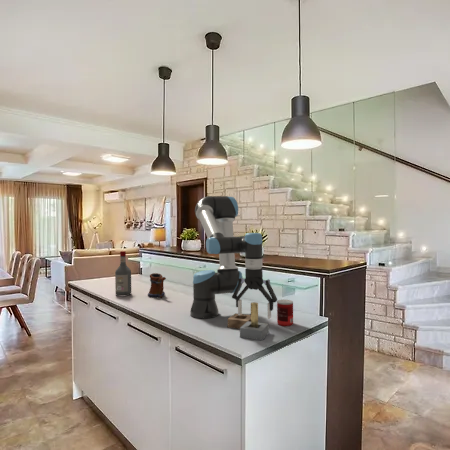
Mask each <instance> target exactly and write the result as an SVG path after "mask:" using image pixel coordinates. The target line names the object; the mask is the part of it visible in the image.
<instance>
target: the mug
mask: <svg viewBox="0 0 450 450" xmlns="http://www.w3.org/2000/svg"><path fill="white" fill-rule="evenodd" d="M149 278H150V279H149V281H150V287H149V288H150V289H149V291H148V292H147V297H148V298H151V297H152V299H155V298H156V299H157V297H158V298H161V299H163V297H165V295H166V293H165V291H164V281H165V280H166V279H167V278H166V277H165V276H163V275H162V274H161V273H156V272H155V273H154V272H153V273H151V274H149Z"/></svg>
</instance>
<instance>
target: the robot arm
mask: <svg viewBox="0 0 450 450" xmlns="http://www.w3.org/2000/svg"><path fill="white" fill-rule="evenodd" d="M194 213H195V217H196V219H198V220H199V221H200V223H201V226H202V228H203V230H204V233H205V234H206V237H207V238H206V241H205V248H206V252H207V253H208V254H210V255H211V254H212V255H218V256H219V257H218V258H219V259H218V260H219V266H218V268H217V269H216V270H217V271H215V270H214V269H206V270H201V271H200V270H199V271H198V272H194V274H193V276H192V277H193V279H192V286H193V290H192V291H193V293H192V296H193V301H192V305H191V307H190V316H191V317H192V318H196V319H211V318H215V317H217V316H219V308H218V304H217V302H216V295H221V294H222V295H223V294H232V296H231V299H233V300H235V307H236V308H237V314H238V315H241V314H243V312H242V311H243V307H242V300H243V299H242V297H243V296H244V294H245V293H246V292H247V291H248V290H255V291H257V290H258V291H259V292H260V293H261V294H262V295H263V297H264V299H266V300H267V302H268V303H267V319H268V320H269V319H271V318H272V311H273V310H274V304H275V303H277V301H278V297H277V295H276V294H275V291H274V288H272V284H271V280H270V279H269V278H268V279H263V272H264V271H263V236H262V235H263V234H262V233H260V232H247V233H245V235H240V236H234V226H233V225H234V221H236V217H238V215H239V204H238V202H237V199H236V198H235V197H234V196H227V195H226V196H223V195H221V196H213V195H207V196H204V197H202V198H201V199H199V200H198V201H197V203H196V205H195V208H194ZM243 253H244V255H245V257H244V262H245V264H244V266H245V270H244V272H245V274H244V275H245V276H244V277H245V278H243V273H242V272H241V271H240V270H239V267H238V266H237V265H236V255H235V254H243ZM243 283H245V287H244V288H243V289H242V286H243ZM263 284H264V285H265V286H266V289H267V290H266V289H265V287H264V285H263ZM241 289H242V290H241ZM239 292H240V293H239Z"/></svg>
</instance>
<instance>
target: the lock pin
mask: <svg viewBox="0 0 450 450" xmlns="http://www.w3.org/2000/svg"><path fill="white" fill-rule="evenodd" d="M250 315H251V327H252V328H258V323H259V303H258V302H256V301H254V302H253V301H252V302H250Z"/></svg>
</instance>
